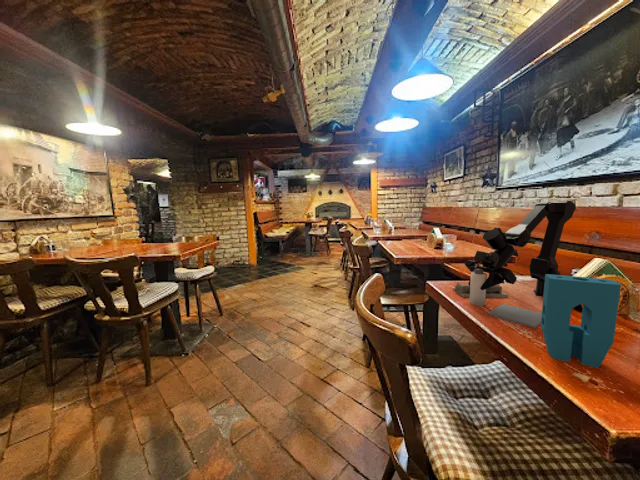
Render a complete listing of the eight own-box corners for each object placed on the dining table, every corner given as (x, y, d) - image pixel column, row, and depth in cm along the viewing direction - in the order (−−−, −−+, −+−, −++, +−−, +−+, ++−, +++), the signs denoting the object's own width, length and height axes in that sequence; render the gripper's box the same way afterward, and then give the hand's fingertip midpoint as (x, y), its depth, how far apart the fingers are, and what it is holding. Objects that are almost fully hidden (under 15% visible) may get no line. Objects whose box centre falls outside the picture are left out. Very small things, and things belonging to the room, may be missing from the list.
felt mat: (503, 305, 96) (503, 303, 96) (548, 316, 85) (548, 314, 85) (487, 314, 88) (487, 313, 87) (535, 328, 77) (535, 326, 77)
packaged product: (463, 287, 104) (452, 280, 114) (463, 298, 105) (452, 290, 115) (509, 287, 103) (494, 280, 113) (508, 298, 104) (493, 290, 114)
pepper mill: (469, 300, 101) (471, 267, 100) (485, 302, 99) (487, 268, 97) (468, 304, 97) (470, 270, 96) (484, 306, 94) (487, 271, 93)
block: (601, 359, 61) (611, 279, 59) (611, 370, 57) (623, 285, 55) (537, 346, 67) (544, 273, 65) (542, 356, 63) (550, 278, 60)
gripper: (469, 240, 105) (445, 268, 104) (512, 247, 87) (484, 280, 86) (483, 258, 108) (460, 285, 107) (528, 267, 90) (501, 300, 89)
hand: (475, 287), depth 97 cm, fingers closed on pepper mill, 5 cm apart
